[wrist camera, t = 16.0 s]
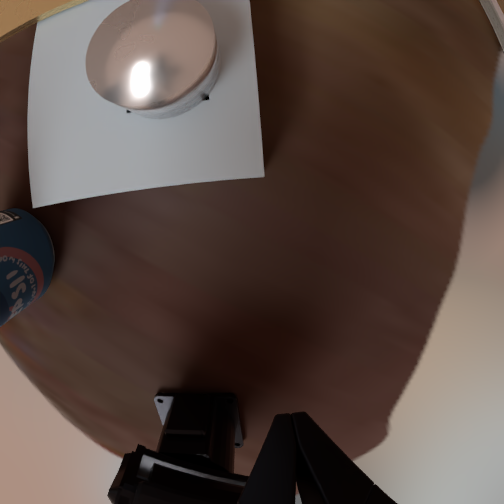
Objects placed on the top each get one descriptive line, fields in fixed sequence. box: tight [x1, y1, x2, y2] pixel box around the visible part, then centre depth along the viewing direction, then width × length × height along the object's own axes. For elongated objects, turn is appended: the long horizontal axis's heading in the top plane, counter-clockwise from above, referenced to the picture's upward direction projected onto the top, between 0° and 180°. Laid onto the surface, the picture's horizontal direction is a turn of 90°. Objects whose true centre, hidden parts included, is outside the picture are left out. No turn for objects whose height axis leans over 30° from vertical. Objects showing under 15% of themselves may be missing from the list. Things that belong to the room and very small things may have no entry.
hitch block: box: [28, 0, 264, 208], centre depth 13 cm, size 17×12×6 cm
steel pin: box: [85, 0, 221, 119], centre depth 12 cm, size 5×5×8 cm
